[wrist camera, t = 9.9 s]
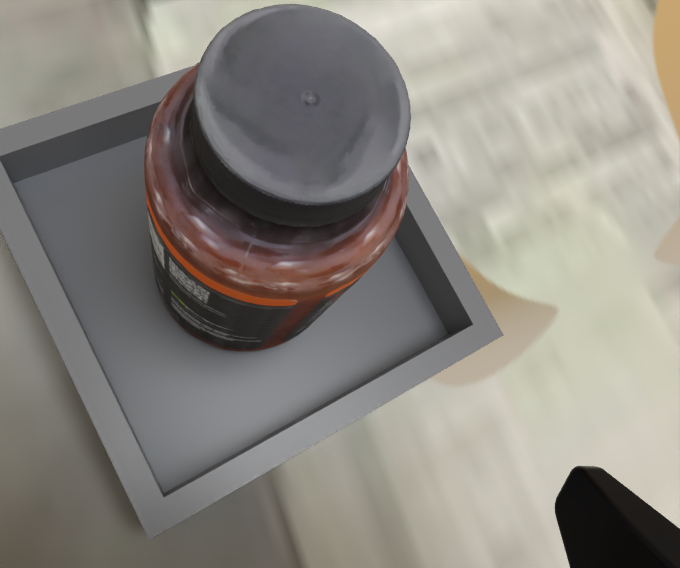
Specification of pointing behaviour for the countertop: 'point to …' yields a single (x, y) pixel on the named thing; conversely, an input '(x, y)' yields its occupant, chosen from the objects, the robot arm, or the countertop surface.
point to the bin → (187, 350)
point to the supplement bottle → (275, 175)
